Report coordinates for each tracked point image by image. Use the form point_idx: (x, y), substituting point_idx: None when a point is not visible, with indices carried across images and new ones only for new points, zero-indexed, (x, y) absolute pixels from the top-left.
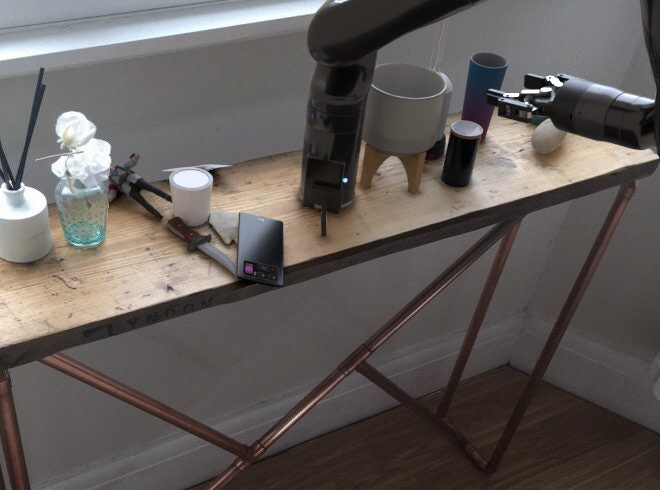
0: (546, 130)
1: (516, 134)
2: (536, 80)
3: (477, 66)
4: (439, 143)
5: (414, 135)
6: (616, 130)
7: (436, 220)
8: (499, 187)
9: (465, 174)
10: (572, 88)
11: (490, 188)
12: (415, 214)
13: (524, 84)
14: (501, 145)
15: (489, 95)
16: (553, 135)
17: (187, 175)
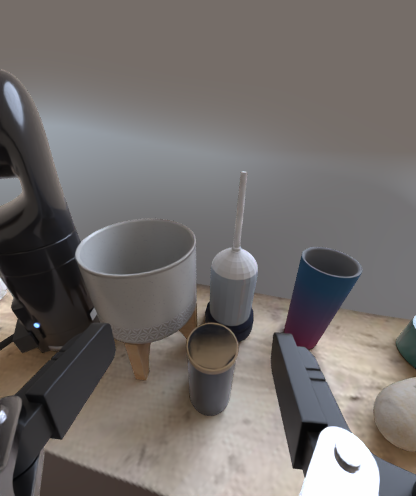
0: (410, 408)
1: (366, 364)
2: (288, 390)
3: (303, 262)
4: (230, 329)
5: (104, 317)
6: None
7: (88, 460)
8: (255, 460)
9: (201, 404)
10: None
11: (238, 450)
12: (89, 419)
13: (271, 357)
14: (329, 370)
15: (63, 346)
16: None
17: None
